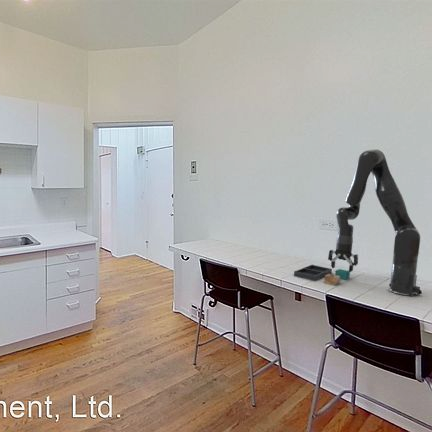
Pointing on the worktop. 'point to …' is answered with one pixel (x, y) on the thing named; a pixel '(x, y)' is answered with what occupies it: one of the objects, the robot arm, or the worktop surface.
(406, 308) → the worktop surface
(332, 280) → the tan rounded lump
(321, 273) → the dark grey compartment tray
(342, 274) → the teal block
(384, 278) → the worktop surface
